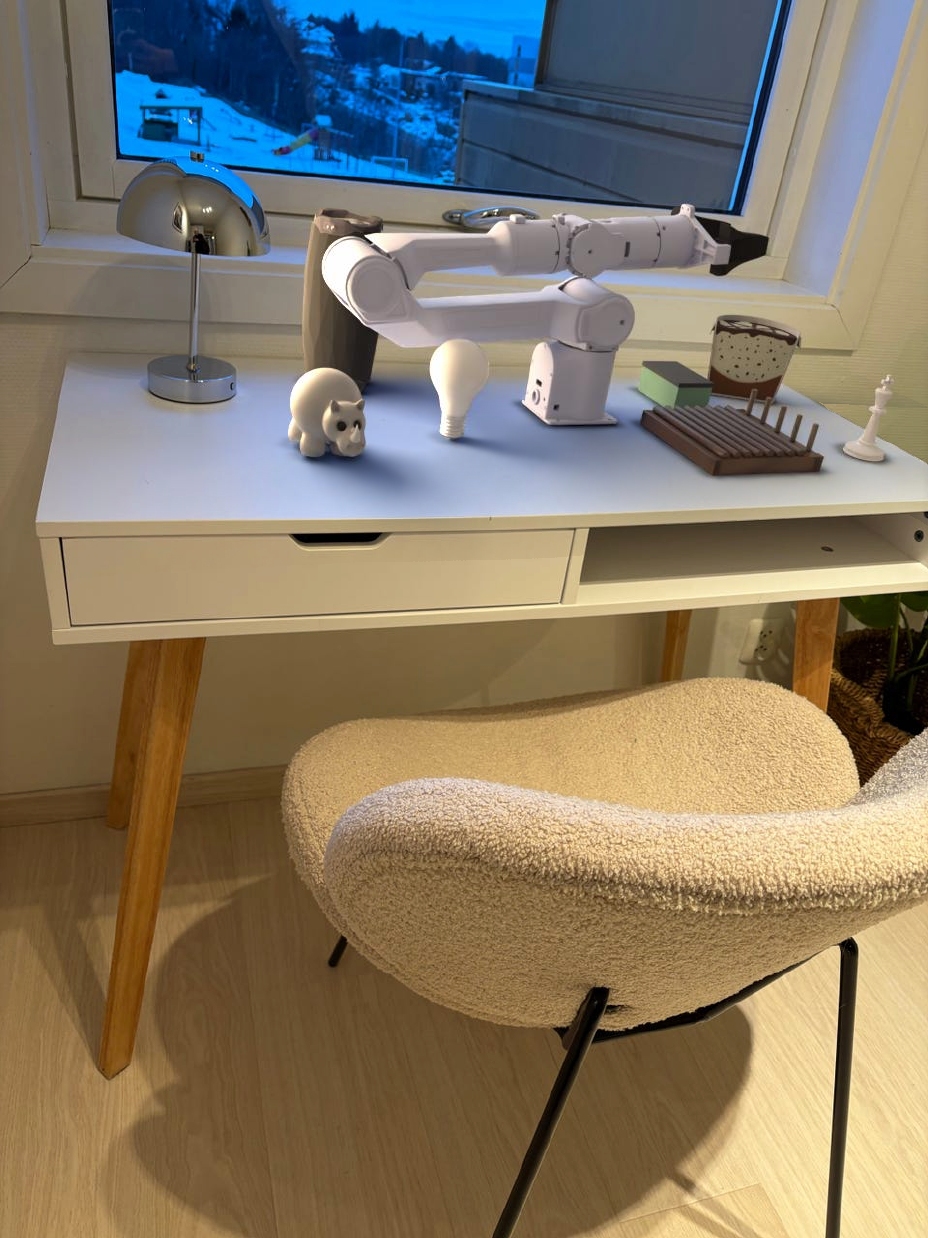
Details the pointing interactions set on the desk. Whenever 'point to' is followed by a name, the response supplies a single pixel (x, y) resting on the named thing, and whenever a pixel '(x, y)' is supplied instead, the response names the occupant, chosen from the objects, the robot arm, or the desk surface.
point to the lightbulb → (458, 381)
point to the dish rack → (733, 438)
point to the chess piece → (871, 427)
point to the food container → (750, 356)
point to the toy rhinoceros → (327, 414)
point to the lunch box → (674, 384)
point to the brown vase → (335, 303)
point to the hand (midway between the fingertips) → (746, 238)
